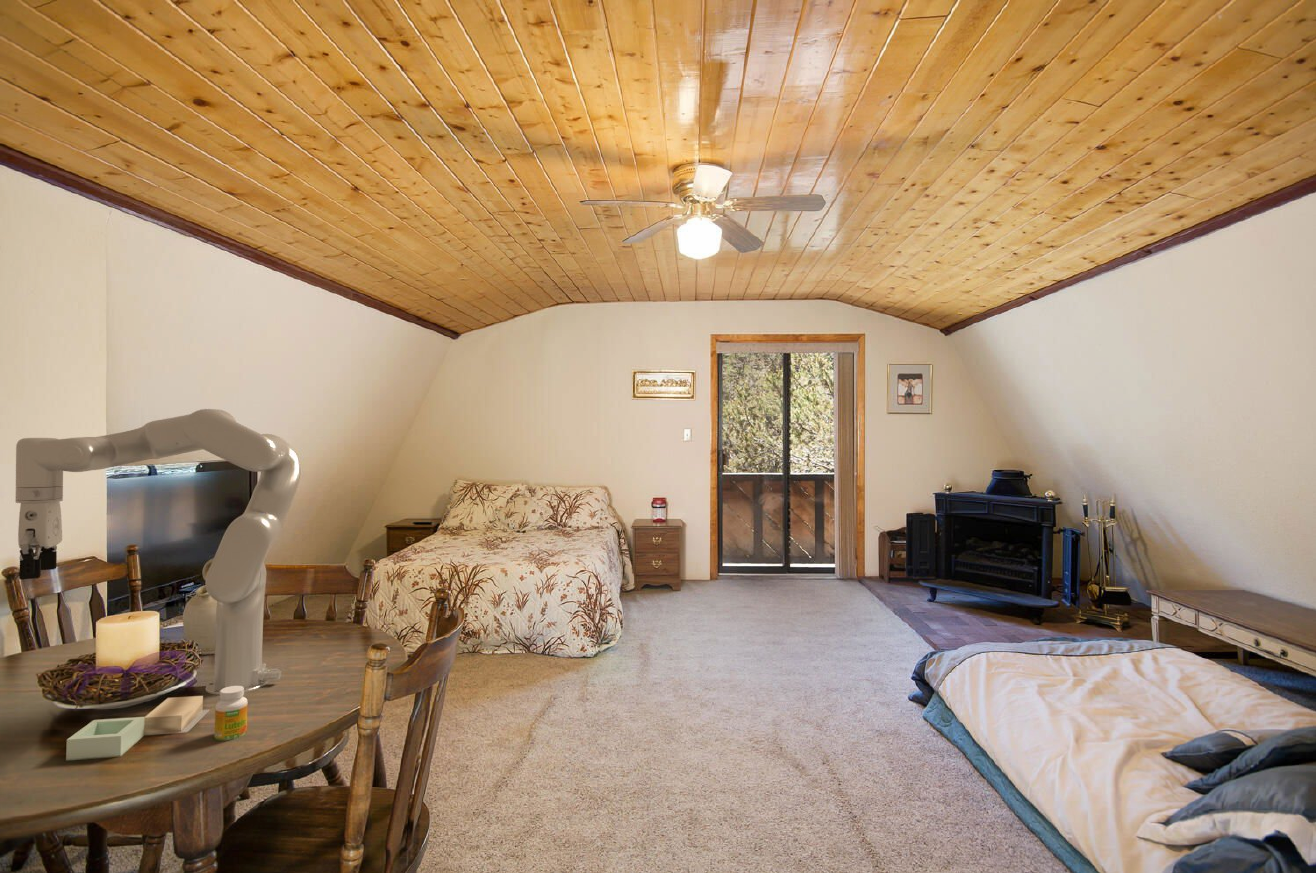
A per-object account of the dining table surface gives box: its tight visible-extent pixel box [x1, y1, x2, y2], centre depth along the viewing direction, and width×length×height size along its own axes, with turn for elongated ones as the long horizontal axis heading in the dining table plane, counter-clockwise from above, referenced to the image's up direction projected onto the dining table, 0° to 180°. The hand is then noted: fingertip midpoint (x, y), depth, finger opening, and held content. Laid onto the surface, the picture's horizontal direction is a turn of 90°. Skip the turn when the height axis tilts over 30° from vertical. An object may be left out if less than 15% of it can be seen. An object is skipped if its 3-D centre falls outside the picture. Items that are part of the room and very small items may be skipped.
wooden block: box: [143, 695, 204, 734], centre depth 136 cm, size 6×10×3 cm, turn 14°
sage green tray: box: [65, 716, 145, 761], centre depth 125 cm, size 8×8×4 cm
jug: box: [182, 557, 217, 656], centre depth 184 cm, size 15×16×25 cm
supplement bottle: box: [213, 686, 249, 742], centre depth 132 cm, size 5×5×10 cm
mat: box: [144, 709, 210, 736], centre depth 136 cm, size 9×11×1 cm
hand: (38, 573), depth 144 cm, fingers open, 9 cm apart
